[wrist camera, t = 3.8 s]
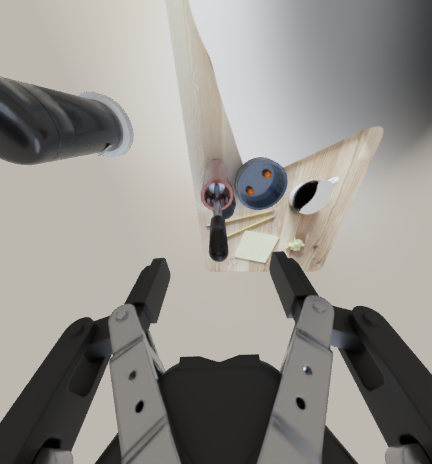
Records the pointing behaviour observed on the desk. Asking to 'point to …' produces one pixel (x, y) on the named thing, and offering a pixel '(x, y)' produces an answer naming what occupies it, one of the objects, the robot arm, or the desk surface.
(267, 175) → the bead
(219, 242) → the ladle
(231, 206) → the pill bottle
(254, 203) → the bowl
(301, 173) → the desk surface
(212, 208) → the crock
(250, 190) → the bead
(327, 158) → the desk surface
